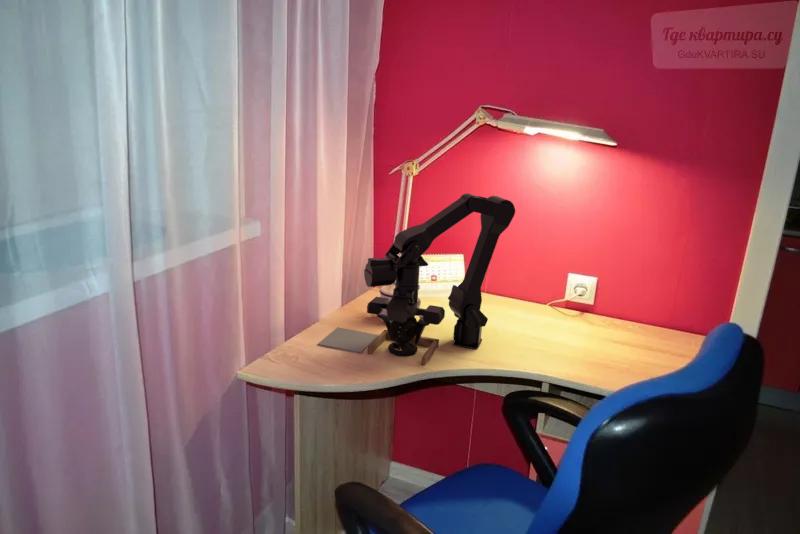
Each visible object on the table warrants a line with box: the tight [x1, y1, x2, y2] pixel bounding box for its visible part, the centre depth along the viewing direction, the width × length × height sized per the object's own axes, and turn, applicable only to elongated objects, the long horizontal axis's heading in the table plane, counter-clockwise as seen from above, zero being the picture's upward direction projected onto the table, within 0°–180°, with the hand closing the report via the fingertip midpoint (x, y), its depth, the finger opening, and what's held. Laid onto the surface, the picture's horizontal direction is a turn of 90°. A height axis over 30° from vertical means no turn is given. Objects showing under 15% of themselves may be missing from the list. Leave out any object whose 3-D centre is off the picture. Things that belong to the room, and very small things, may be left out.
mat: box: [317, 327, 380, 355], centre depth 156 cm, size 12×12×1 cm
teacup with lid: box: [379, 280, 422, 323], centre depth 170 cm, size 12×9×12 cm
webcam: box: [387, 317, 418, 358], centre depth 150 cm, size 8×8×10 cm
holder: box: [367, 329, 440, 366], centre depth 152 cm, size 15×12×2 cm
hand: (404, 342), depth 151 cm, fingers closed on webcam, 6 cm apart
